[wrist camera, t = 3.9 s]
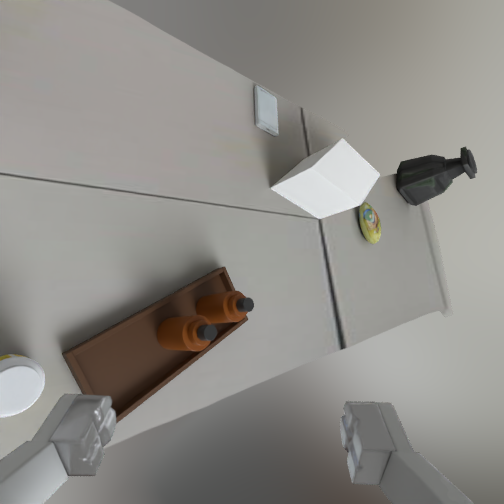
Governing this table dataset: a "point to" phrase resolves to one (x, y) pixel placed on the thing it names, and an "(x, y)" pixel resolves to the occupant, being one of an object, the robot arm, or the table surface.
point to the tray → (144, 348)
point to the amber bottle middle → (186, 333)
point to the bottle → (432, 175)
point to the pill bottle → (19, 383)
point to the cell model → (369, 223)
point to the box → (328, 181)
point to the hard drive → (266, 111)
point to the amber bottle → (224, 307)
